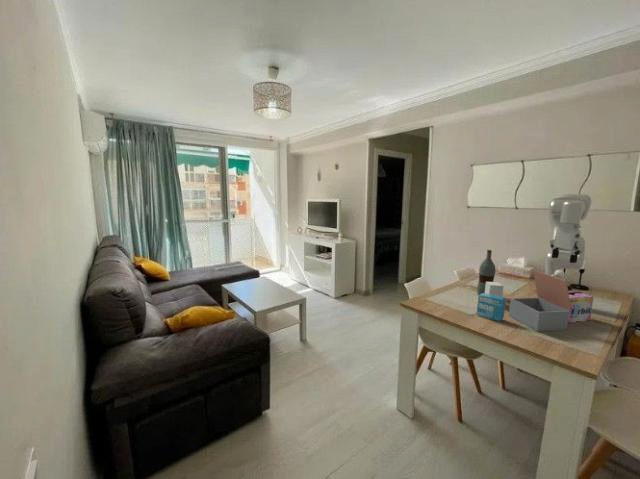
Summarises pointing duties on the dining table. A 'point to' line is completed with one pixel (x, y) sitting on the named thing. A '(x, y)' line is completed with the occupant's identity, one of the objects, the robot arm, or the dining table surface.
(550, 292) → the lid flap
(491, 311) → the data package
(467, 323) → the dining table surface
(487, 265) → the bottle
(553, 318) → the carton
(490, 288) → the supplement box
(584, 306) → the gum box
